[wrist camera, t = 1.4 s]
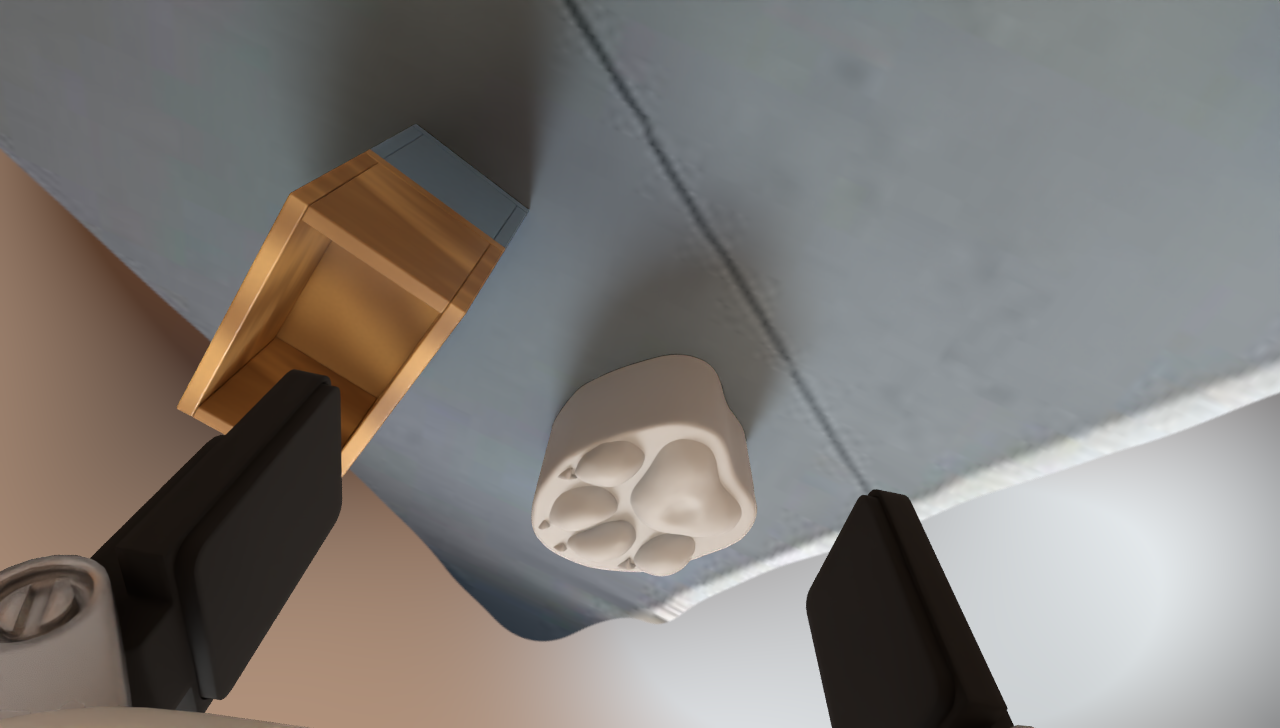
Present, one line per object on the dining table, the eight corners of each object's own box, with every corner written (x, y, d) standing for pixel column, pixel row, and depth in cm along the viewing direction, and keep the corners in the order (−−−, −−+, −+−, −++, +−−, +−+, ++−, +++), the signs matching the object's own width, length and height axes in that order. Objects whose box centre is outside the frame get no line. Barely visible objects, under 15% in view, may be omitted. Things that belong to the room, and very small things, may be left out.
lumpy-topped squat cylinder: (758, 460, 44) (776, 557, 37) (589, 515, 47) (574, 615, 40) (700, 337, 39) (707, 420, 32) (517, 407, 43) (485, 497, 35)
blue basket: (423, 353, 41) (387, 406, 36) (318, 285, 39) (264, 332, 33) (529, 209, 36) (506, 247, 31) (415, 122, 34) (369, 148, 28)
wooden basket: (387, 406, 36) (330, 493, 30) (264, 332, 33) (175, 408, 27) (506, 247, 31) (466, 312, 25) (369, 148, 28) (289, 192, 22)
